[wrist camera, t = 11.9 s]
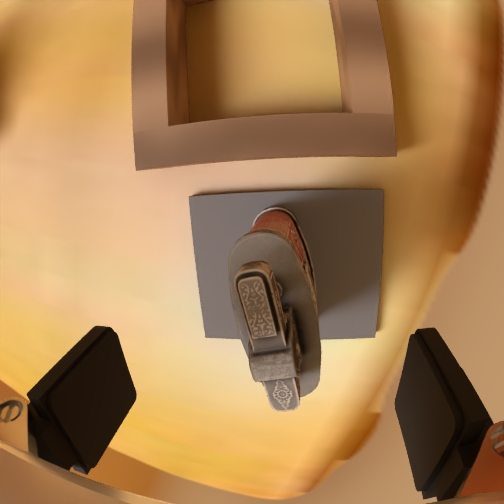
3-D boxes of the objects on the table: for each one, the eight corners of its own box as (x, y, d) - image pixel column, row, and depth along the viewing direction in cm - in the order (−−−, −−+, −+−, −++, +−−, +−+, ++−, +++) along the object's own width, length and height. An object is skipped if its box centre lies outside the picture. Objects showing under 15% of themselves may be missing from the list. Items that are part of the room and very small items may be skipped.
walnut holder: (157, -10, 16) (136, -30, 13) (353, -31, 14) (360, -57, 11) (161, 168, 20) (135, 170, 17) (380, 157, 18) (396, 156, 14)
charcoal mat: (191, 195, 20) (188, 196, 20) (381, 188, 18) (383, 189, 18) (207, 333, 23) (205, 337, 22) (373, 333, 21) (374, 337, 20)
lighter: (323, 320, 21) (333, 431, 11) (274, 328, 21) (252, 439, 12) (299, 199, 19) (296, 240, 9) (244, 212, 19) (189, 262, 10)
